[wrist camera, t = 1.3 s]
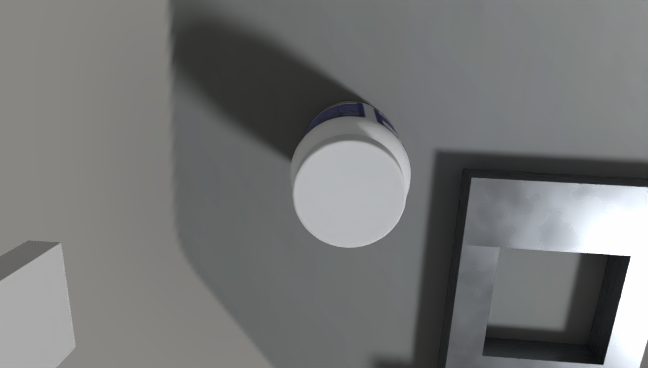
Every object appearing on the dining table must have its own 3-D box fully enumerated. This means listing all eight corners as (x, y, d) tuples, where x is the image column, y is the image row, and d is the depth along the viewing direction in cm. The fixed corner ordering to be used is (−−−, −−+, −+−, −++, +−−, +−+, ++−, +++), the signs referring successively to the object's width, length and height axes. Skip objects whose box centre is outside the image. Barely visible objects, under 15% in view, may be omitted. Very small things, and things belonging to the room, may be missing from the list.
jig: (463, 169, 27) (486, 193, 23) (735, 184, 27) (818, 212, 22) (429, 430, 33) (441, 493, 28) (652, 449, 32) (704, 518, 27)
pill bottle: (294, 176, 28) (263, 238, 19) (318, 88, 27) (298, 107, 17) (381, 201, 28) (394, 276, 19) (410, 115, 27) (440, 148, 17)
